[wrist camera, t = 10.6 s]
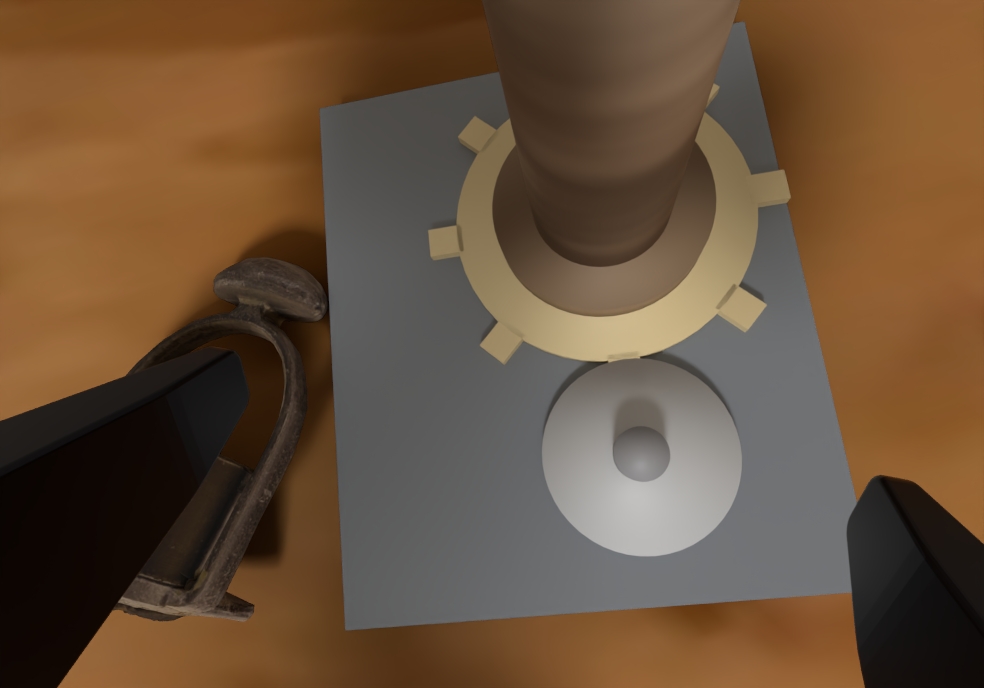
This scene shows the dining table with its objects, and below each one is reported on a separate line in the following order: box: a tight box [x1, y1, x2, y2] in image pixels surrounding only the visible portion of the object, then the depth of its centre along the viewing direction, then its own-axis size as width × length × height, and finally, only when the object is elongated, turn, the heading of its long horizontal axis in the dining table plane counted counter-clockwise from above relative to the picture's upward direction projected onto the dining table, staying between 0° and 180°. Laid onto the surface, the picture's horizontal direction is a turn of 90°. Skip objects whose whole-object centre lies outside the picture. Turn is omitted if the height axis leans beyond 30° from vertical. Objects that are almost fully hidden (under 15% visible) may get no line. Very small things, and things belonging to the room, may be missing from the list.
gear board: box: [320, 21, 857, 630], centre depth 20 cm, size 19×16×3 cm
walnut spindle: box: [482, 0, 741, 317], centre depth 13 cm, size 7×7×13 cm
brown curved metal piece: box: [113, 257, 328, 621], centre depth 19 cm, size 7×13×10 cm
